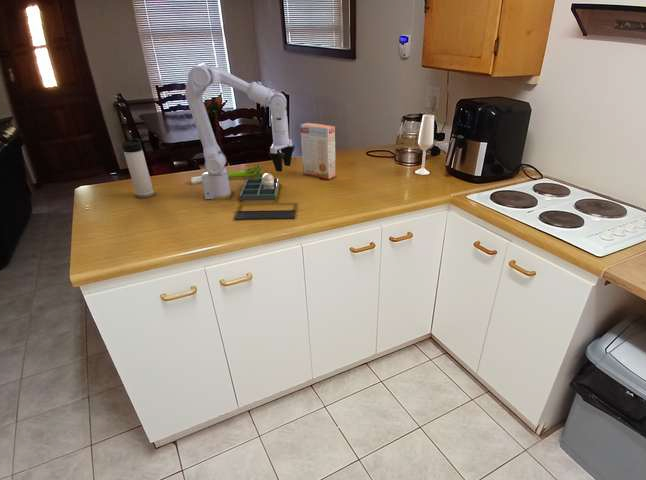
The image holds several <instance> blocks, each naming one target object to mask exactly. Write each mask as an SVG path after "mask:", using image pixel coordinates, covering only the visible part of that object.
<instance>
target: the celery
mask: <svg viewBox="0 0 646 480" xmlns="http://www.w3.org/2000/svg"><path fill="white" fill-rule="evenodd" d="M263 174H264V170H263V166H261V165H259V164H257V165H255V166H254V167H248V168H247V169H246V170H241V171H232V172H228V179H233V178H256V179H262V177H263ZM190 180H191V185H192V186H193V185H196V184H201V183H202V175H201V176H194V177H191V179H190Z"/></svg>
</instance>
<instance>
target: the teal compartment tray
mask: <svg viewBox="0 0 646 480" xmlns="http://www.w3.org/2000/svg"><path fill="white" fill-rule="evenodd" d="M280 181H281V180H280V178H278V177H277V178H276V177H275V178H274V189H264V188H263V183H262V178H260V179H258V178H246V180H245V182H244V184H243V186H242V189H241V191H240V193H239V201H241V202H244V201H245V202H246V201H248V202H249V201H252V202H253V201H254V202H255V201H277V198H278V193H279V188H280V184H281V182H280Z"/></svg>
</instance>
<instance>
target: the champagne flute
mask: <svg viewBox="0 0 646 480" xmlns="http://www.w3.org/2000/svg"><path fill="white" fill-rule="evenodd" d="M434 128H435V115H434V114H423V115H422V118H421V122H420V129H419V134H418V140H417V144H418V147H419V148H420V149H421V150H422V160H421V161H422V162H421V168H419V169H417V170H415V171H414V173H415V174H417V175H422V176H424V175H430V173H431V172H430V171H429V170H428V169H426V168H425V164H426V155H427V151H428V150H429V149H431V147H433V145H434V137H435V136H434V135H435V134H434V133H435V132H434V131H435V129H434Z"/></svg>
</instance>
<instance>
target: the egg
mask: <svg viewBox="0 0 646 480" xmlns="http://www.w3.org/2000/svg"><path fill="white" fill-rule="evenodd" d="M261 179H262V183H263V188H264V189H274V179H275V178H274V176H273V174H271V173H268V172H266V173H263V174H262V177H261Z"/></svg>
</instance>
